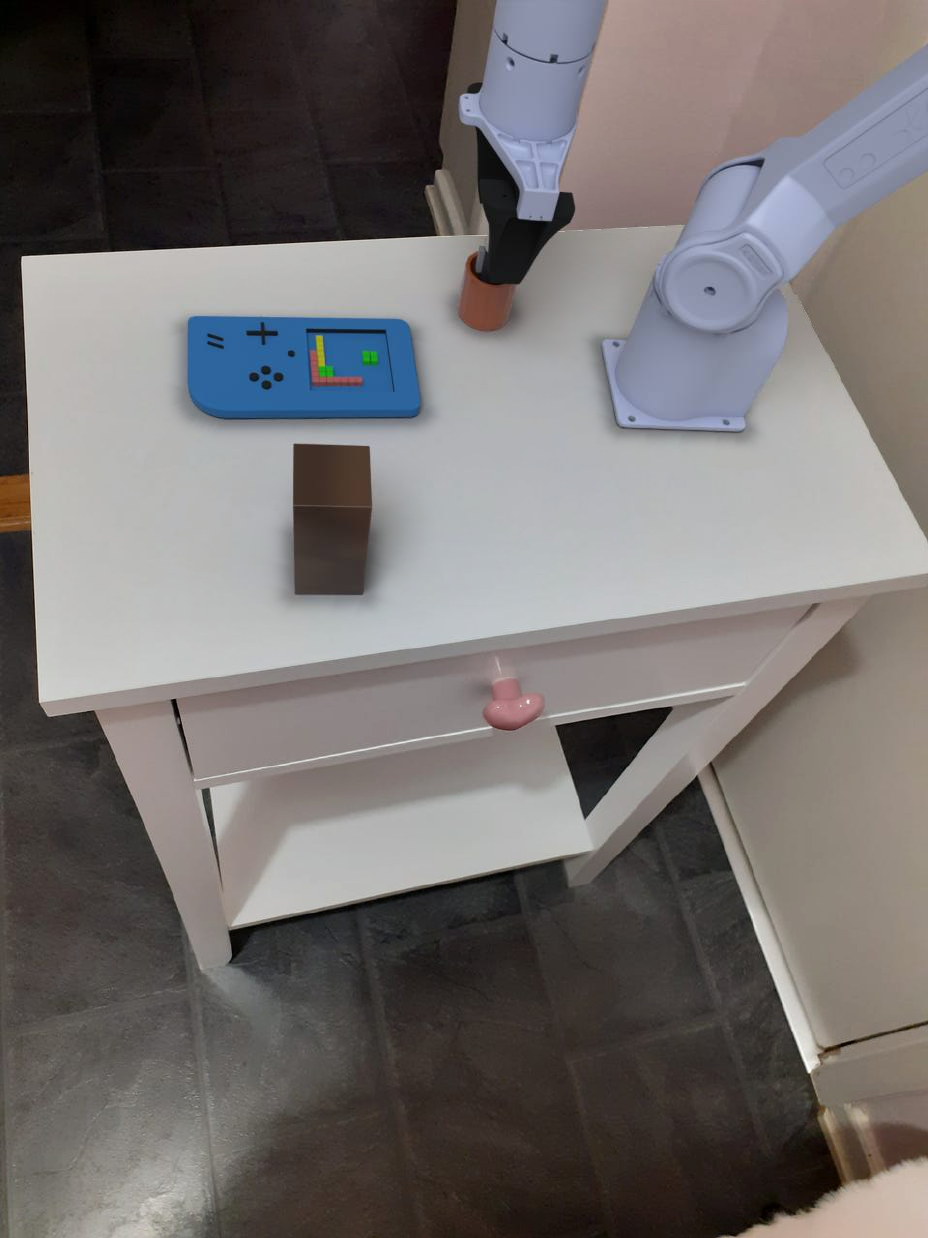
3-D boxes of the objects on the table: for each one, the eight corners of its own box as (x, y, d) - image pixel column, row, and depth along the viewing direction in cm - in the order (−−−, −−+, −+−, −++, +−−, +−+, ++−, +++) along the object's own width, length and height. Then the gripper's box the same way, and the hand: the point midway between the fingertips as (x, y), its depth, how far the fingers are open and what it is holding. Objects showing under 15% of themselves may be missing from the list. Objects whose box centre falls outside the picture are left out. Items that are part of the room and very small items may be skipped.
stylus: (492, 300, 68) (508, 232, 63) (494, 316, 67) (510, 248, 62) (467, 298, 68) (480, 230, 62) (468, 314, 67) (482, 246, 62)
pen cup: (505, 295, 69) (516, 251, 66) (511, 332, 67) (522, 289, 64) (455, 292, 68) (463, 247, 65) (459, 329, 67) (468, 286, 63)
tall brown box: (361, 538, 57) (369, 445, 49) (362, 595, 55) (372, 507, 47) (294, 537, 56) (293, 442, 48) (294, 594, 54) (292, 505, 46)
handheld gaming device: (187, 311, 62) (409, 315, 65) (188, 324, 63) (407, 326, 66) (186, 407, 58) (422, 406, 61) (188, 418, 59) (420, 417, 62)
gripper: (461, -49, 53) (433, 164, 65) (484, 108, 46) (448, 314, 58) (579, -34, 54) (530, 172, 66) (619, 120, 48) (556, 320, 59)
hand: (499, 239), depth 62 cm, fingers open, 7 cm apart
